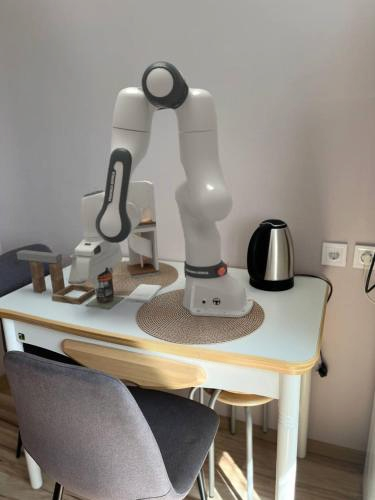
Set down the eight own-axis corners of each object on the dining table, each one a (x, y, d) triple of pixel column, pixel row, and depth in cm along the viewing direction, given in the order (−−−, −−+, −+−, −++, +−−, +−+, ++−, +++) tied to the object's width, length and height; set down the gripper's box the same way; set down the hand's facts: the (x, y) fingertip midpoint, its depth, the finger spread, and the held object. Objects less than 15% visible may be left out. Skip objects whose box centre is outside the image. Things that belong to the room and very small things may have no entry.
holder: (98, 292, 140) (95, 260, 136) (79, 304, 130) (75, 271, 126) (47, 285, 148) (42, 255, 144) (25, 296, 138) (20, 264, 135)
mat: (124, 298, 134) (124, 296, 133) (109, 309, 126) (109, 308, 125) (101, 295, 137) (101, 293, 137) (85, 305, 129) (85, 304, 129)
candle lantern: (127, 269, 161) (119, 182, 151) (152, 266, 164) (147, 180, 154) (131, 279, 151) (124, 186, 140) (159, 275, 154) (153, 184, 143)
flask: (90, 277, 155) (87, 252, 152) (83, 284, 148) (80, 258, 145) (71, 277, 155) (68, 252, 152) (64, 284, 148) (61, 258, 146)
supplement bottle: (104, 294, 135) (101, 262, 132) (118, 297, 132) (115, 264, 129) (92, 300, 130) (88, 267, 127) (106, 303, 127) (102, 270, 124)
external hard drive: (161, 289, 141) (149, 304, 130) (140, 288, 143) (126, 302, 132) (161, 285, 140) (148, 299, 129) (139, 283, 143) (125, 297, 131)
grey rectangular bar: (62, 260, 136) (61, 253, 136) (56, 263, 134) (55, 256, 133) (23, 256, 143) (22, 250, 142) (17, 259, 140) (16, 252, 139)
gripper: (108, 233, 136) (112, 271, 140) (70, 251, 118) (76, 294, 122) (124, 234, 133) (128, 273, 137) (88, 252, 115) (93, 296, 119)
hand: (103, 283), depth 129 cm, fingers closed on supplement bottle, 6 cm apart
